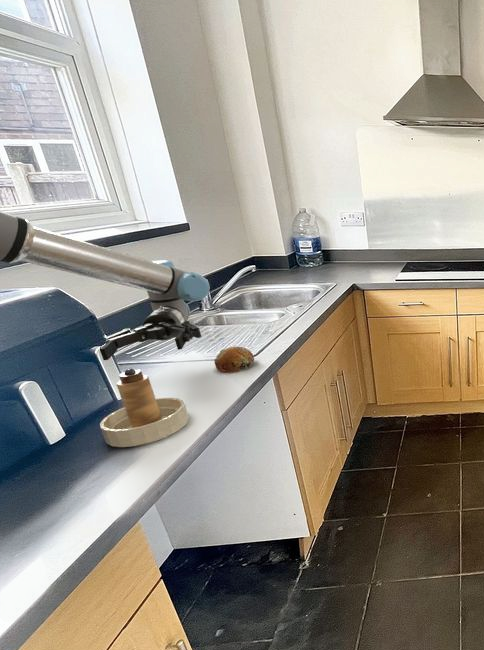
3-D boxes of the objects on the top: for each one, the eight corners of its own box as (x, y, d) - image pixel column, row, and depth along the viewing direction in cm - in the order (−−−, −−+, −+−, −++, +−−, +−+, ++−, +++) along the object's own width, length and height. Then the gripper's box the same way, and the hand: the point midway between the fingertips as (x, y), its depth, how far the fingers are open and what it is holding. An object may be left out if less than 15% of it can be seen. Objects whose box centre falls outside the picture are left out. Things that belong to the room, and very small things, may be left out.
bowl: (96, 456, 84) (88, 437, 82) (119, 423, 96) (113, 406, 94) (182, 438, 90) (177, 420, 88) (194, 409, 102) (189, 392, 100)
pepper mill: (130, 437, 89) (108, 376, 84) (137, 425, 94) (116, 367, 89) (161, 431, 92) (140, 371, 87) (166, 420, 96) (147, 362, 91)
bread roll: (255, 369, 132) (248, 345, 132) (258, 366, 124) (251, 340, 124) (218, 378, 126) (211, 353, 126) (219, 375, 118) (211, 348, 118)
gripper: (99, 317, 107) (63, 343, 90) (214, 304, 118) (202, 325, 100) (109, 344, 110) (76, 374, 92) (220, 329, 121) (210, 354, 103)
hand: (142, 349), depth 96 cm, fingers open, 13 cm apart
